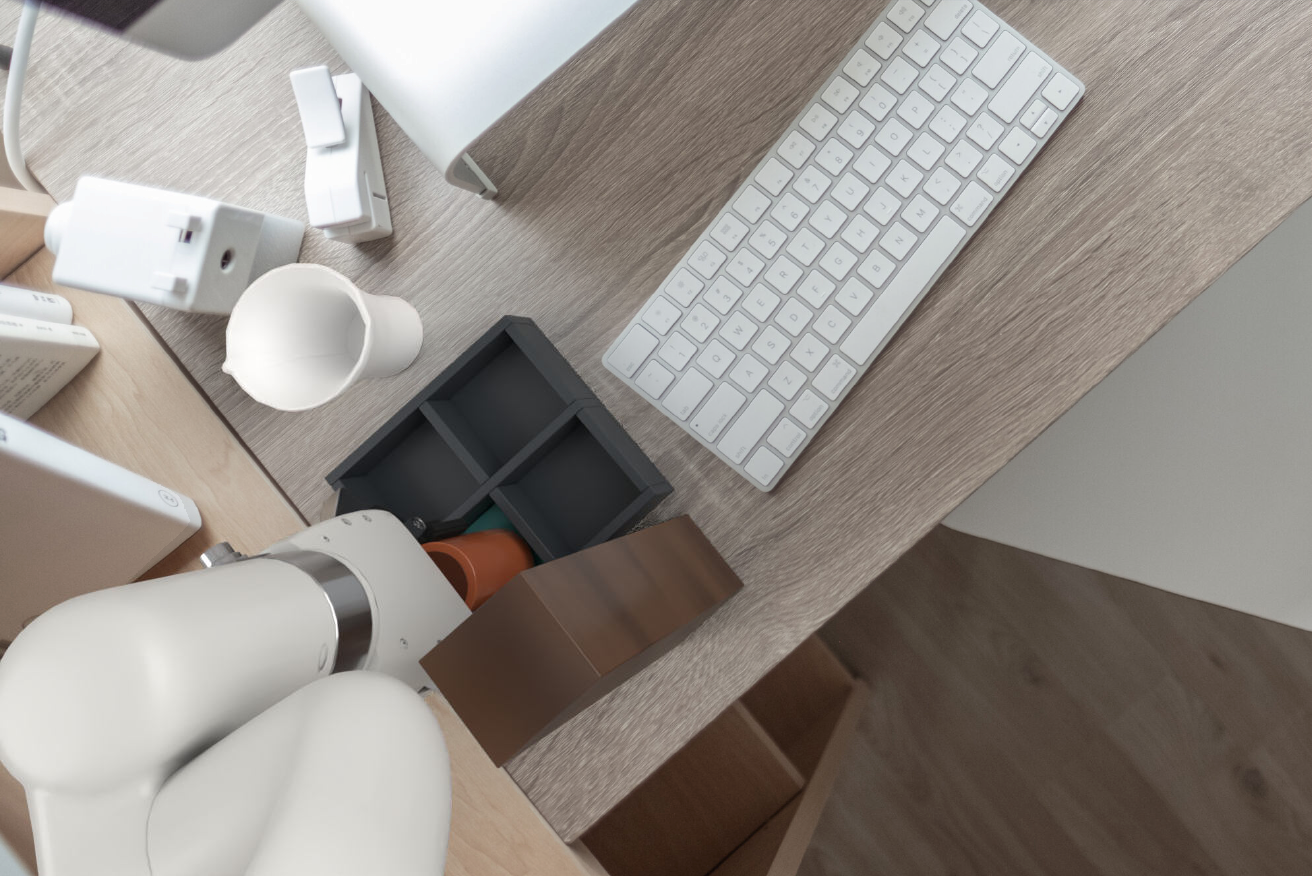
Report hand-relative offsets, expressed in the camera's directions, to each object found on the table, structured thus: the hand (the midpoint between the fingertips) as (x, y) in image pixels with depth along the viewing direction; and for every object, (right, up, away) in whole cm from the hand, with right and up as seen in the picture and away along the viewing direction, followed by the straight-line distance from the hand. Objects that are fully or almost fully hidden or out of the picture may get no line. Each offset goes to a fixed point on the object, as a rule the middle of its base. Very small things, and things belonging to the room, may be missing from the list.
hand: (475, 575), depth 72 cm
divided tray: (0, +5, +5) cm, 7 cm away
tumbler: (0, 0, +2) cm, 2 cm away
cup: (-9, +14, +7) cm, 18 cm away
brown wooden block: (+12, -1, +4) cm, 12 cm away
